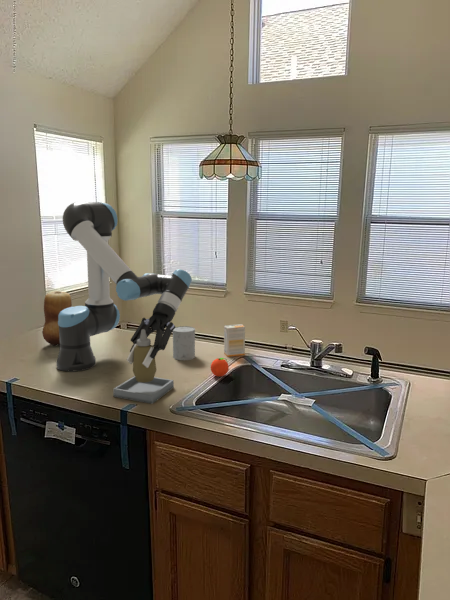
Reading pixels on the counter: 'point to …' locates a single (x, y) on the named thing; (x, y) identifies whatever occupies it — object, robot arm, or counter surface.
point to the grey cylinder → (184, 343)
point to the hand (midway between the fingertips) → (137, 363)
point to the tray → (143, 389)
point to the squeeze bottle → (139, 355)
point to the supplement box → (234, 340)
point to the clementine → (219, 367)
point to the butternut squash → (54, 314)
